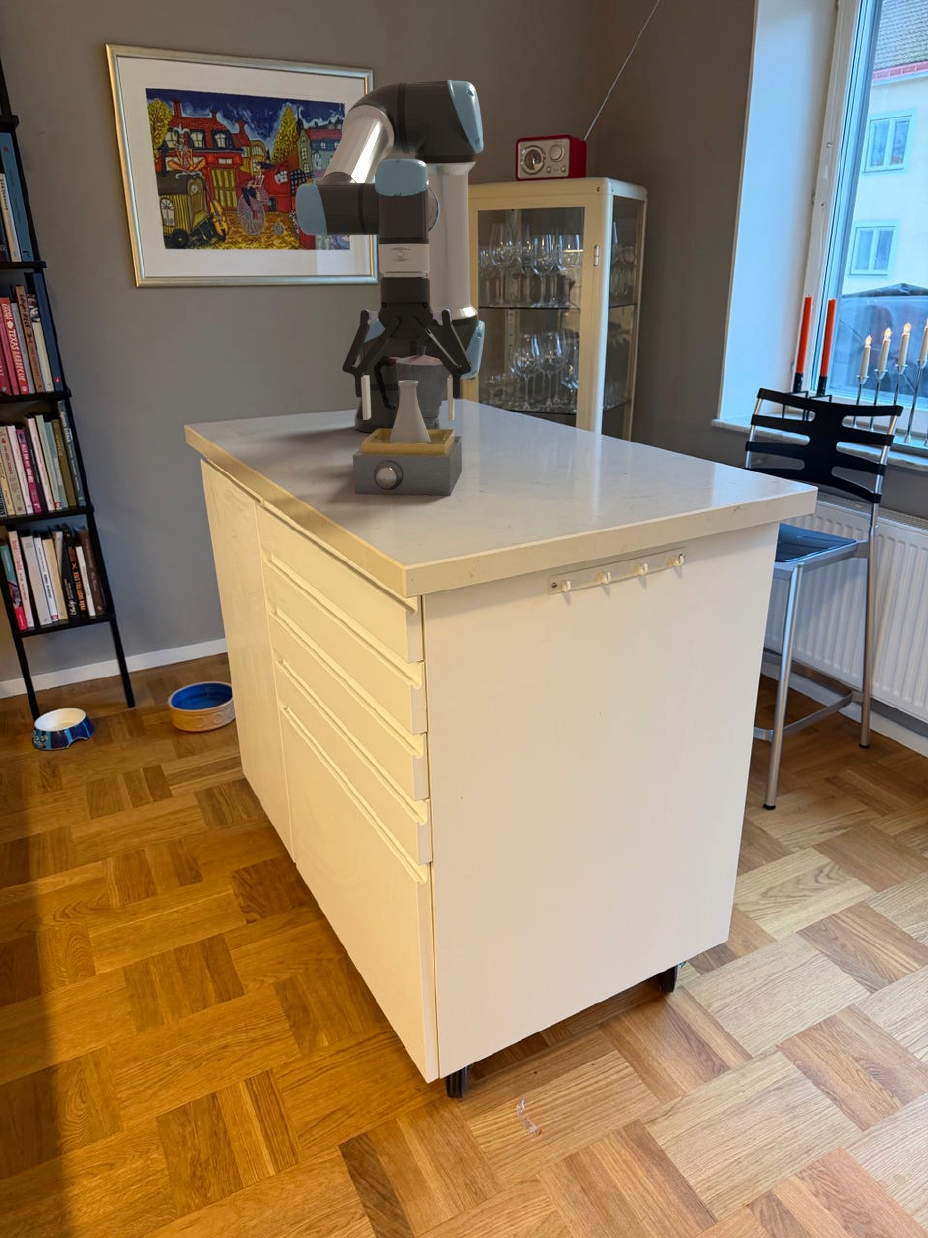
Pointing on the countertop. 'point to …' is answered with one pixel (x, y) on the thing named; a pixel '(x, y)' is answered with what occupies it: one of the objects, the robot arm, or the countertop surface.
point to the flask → (409, 417)
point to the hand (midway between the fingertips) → (409, 418)
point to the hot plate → (408, 464)
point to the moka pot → (429, 382)
